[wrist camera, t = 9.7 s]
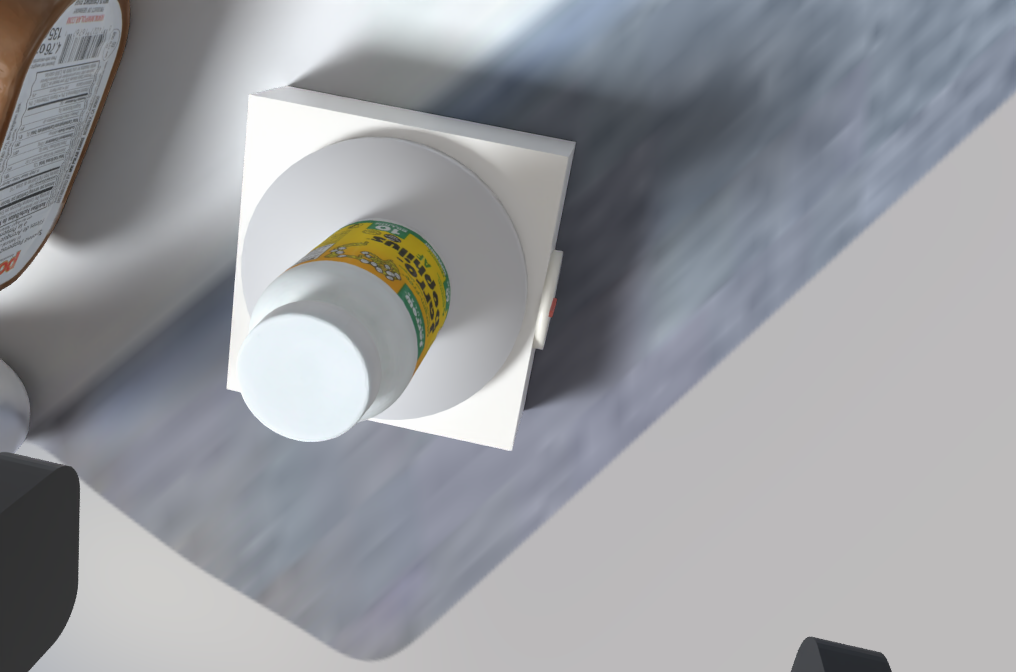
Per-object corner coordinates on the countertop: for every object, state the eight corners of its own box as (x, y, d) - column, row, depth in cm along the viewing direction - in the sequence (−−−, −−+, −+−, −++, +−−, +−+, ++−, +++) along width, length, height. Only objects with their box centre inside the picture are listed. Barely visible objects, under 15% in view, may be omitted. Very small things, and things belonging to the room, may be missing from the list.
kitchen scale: (287, 85, 39) (240, 96, 35) (589, 144, 38) (582, 163, 34) (263, 355, 43) (218, 396, 39) (535, 414, 42) (522, 463, 38)
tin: (100, -64, 38) (-40, -81, 30) (170, -23, 38) (48, -30, 30) (-12, 251, 43) (-157, 306, 36) (50, 286, 44) (-81, 348, 36)
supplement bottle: (288, 266, 36) (172, 352, 27) (396, 186, 35) (310, 249, 26) (375, 376, 37) (291, 494, 28) (484, 303, 36) (431, 404, 27)
